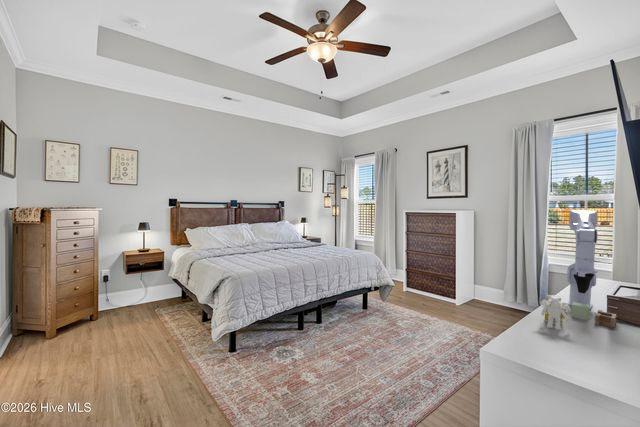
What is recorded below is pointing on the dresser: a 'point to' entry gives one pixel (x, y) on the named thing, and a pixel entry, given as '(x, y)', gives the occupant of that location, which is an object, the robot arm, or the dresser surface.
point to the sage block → (580, 311)
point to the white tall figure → (548, 314)
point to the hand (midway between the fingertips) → (583, 291)
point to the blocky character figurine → (554, 311)
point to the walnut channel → (603, 318)
